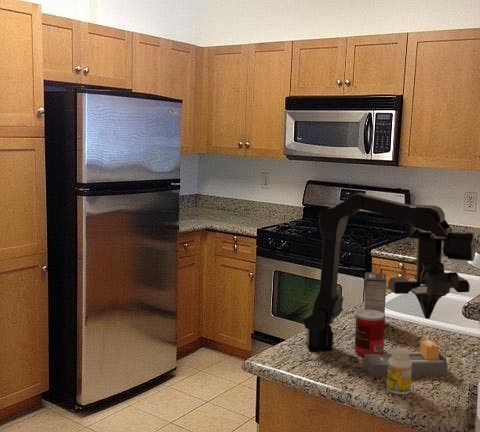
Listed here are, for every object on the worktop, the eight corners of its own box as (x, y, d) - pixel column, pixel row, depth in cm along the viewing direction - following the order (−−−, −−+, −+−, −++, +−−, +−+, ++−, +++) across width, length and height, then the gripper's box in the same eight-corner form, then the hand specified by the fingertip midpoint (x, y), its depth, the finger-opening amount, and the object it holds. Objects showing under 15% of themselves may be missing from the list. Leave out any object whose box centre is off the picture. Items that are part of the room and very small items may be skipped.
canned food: (384, 349, 157) (386, 311, 155) (381, 359, 150) (383, 319, 148) (356, 345, 160) (358, 308, 158) (352, 355, 152) (354, 316, 150)
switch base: (371, 376, 139) (372, 360, 138) (363, 365, 146) (364, 349, 145) (446, 375, 140) (447, 359, 140) (435, 363, 147) (436, 348, 147)
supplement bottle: (415, 393, 130) (417, 353, 129) (395, 396, 128) (398, 356, 127) (400, 383, 135) (402, 345, 134) (381, 387, 133) (383, 348, 132)
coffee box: (362, 320, 181) (364, 271, 179) (383, 322, 180) (385, 273, 178) (362, 330, 173) (365, 278, 170) (384, 331, 171) (387, 280, 169)
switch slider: (426, 360, 141) (427, 345, 140) (420, 353, 145) (420, 339, 144) (437, 359, 141) (438, 344, 141) (431, 353, 145) (432, 339, 145)
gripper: (403, 264, 131) (401, 330, 133) (481, 263, 132) (478, 327, 134) (388, 255, 142) (386, 315, 144) (460, 253, 143) (458, 313, 145)
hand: (427, 318), depth 141 cm, fingers closed
